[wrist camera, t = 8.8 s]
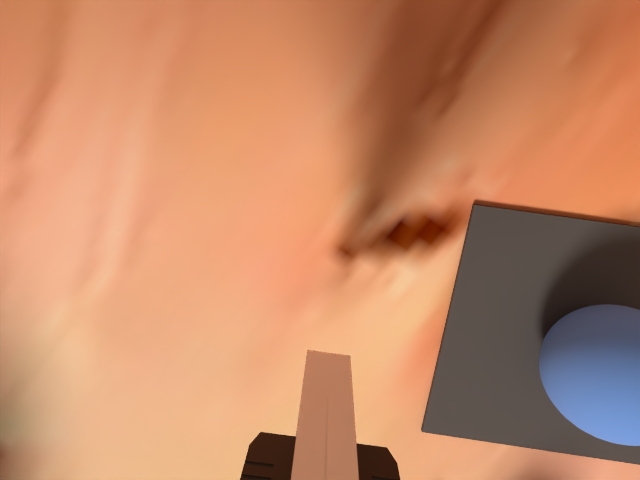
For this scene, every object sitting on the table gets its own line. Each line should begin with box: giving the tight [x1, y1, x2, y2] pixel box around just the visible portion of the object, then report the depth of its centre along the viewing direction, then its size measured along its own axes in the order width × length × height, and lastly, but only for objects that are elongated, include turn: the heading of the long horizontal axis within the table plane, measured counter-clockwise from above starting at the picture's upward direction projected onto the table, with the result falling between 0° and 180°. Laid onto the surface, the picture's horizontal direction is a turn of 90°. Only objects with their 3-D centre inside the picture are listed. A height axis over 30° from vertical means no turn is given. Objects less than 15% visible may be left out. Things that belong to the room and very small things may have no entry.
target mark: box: [421, 204, 640, 465], centre depth 20 cm, size 12×12×1 cm
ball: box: [539, 304, 640, 446], centre depth 17 cm, size 6×6×6 cm
